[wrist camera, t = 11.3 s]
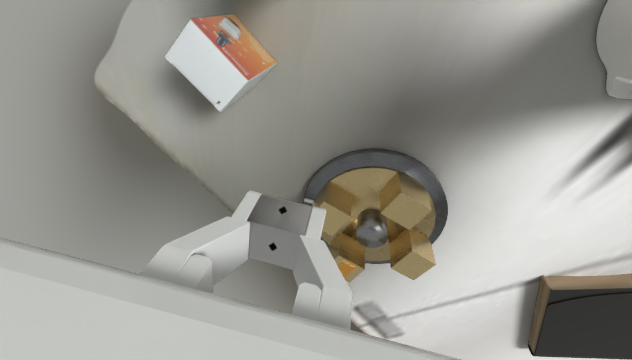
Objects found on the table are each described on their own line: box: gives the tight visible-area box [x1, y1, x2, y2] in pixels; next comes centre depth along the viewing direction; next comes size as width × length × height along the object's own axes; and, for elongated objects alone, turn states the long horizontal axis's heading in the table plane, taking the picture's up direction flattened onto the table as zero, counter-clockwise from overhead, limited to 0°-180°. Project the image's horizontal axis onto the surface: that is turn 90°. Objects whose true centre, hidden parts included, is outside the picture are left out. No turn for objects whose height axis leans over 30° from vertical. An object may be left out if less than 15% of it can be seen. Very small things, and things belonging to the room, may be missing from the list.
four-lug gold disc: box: [312, 166, 436, 282], centre depth 45 cm, size 20×20×6 cm
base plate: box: [304, 149, 448, 264], centre depth 48 cm, size 24×24×2 cm
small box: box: [165, 14, 277, 112], centre depth 34 cm, size 8×6×10 cm
